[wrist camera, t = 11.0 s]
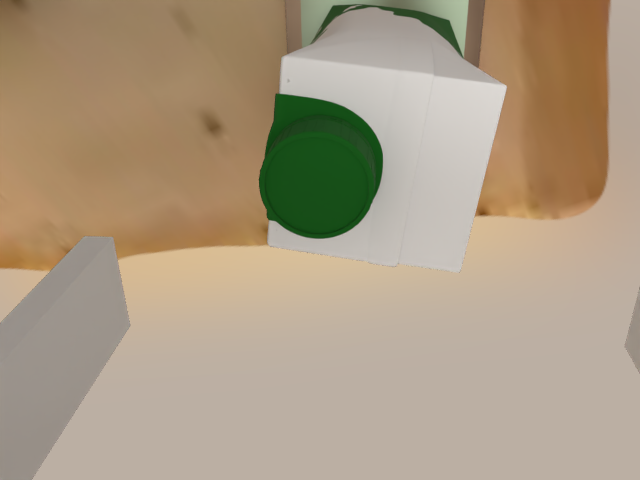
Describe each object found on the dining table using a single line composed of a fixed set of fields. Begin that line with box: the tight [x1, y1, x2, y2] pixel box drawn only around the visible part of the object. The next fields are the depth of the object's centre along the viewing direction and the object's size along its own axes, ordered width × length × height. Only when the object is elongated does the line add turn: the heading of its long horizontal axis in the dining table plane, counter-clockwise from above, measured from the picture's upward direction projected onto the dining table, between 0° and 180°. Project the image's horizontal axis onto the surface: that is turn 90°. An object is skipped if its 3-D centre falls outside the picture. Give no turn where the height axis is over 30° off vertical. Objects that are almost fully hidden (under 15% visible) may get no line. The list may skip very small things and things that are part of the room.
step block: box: [285, 0, 485, 68], centre depth 41 cm, size 12×12×6 cm
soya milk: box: [259, 4, 507, 273], centre depth 30 cm, size 9×9×20 cm
